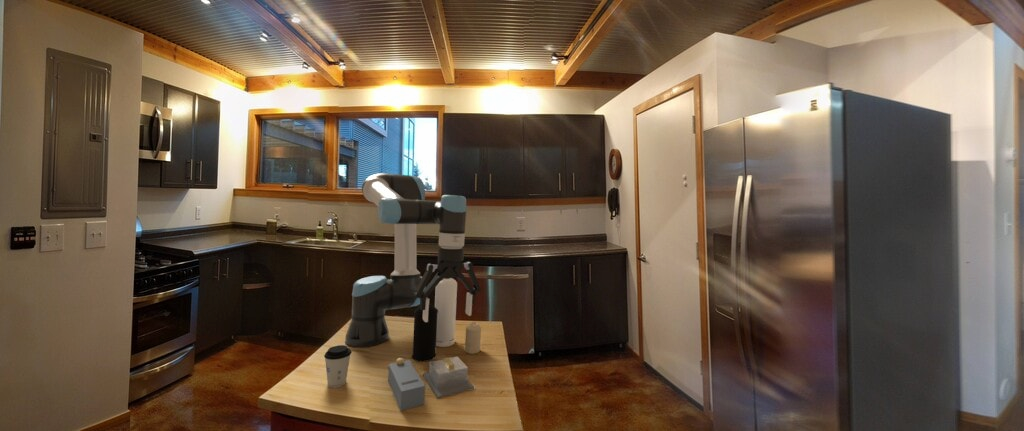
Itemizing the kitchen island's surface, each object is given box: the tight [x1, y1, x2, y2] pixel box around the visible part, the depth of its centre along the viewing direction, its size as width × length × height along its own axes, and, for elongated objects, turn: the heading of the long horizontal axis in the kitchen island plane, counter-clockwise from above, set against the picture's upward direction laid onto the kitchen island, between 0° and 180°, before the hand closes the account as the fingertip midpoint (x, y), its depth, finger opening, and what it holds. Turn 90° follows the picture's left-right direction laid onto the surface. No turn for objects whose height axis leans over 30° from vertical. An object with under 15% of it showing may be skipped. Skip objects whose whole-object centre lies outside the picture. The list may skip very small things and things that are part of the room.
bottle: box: [434, 278, 458, 348], centre depth 124 cm, size 8×8×28 cm
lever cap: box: [428, 356, 469, 390], centre depth 97 cm, size 8×9×6 cm
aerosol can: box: [411, 297, 438, 362], centre depth 112 cm, size 8×8×20 cm
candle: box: [464, 321, 482, 355], centre depth 119 cm, size 6×6×10 cm
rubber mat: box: [422, 371, 475, 399], centre depth 97 cm, size 14×11×1 cm
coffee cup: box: [323, 344, 352, 388], centre depth 93 cm, size 7×7×10 cm
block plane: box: [387, 357, 426, 412], centre depth 90 cm, size 16×6×6 cm, turn 32°
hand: (447, 317), depth 97 cm, fingers open, 13 cm apart
